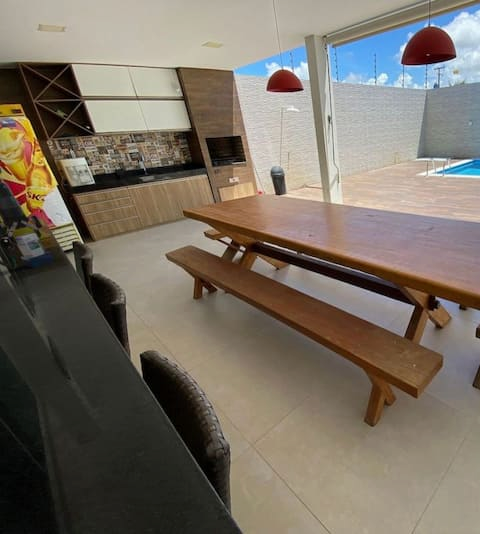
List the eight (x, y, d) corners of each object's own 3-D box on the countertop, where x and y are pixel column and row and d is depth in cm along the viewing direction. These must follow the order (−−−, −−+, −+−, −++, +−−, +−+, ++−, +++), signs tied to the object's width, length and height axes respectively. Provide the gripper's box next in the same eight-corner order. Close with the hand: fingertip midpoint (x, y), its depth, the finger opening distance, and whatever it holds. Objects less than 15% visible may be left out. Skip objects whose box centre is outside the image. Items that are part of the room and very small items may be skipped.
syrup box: (38, 265, 146) (22, 236, 139) (28, 265, 147) (12, 237, 140) (51, 260, 151) (36, 232, 144) (41, 260, 152) (26, 232, 145)
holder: (34, 268, 144) (28, 258, 142) (26, 266, 147) (20, 256, 145) (55, 261, 151) (50, 252, 148) (46, 259, 154) (41, 250, 151)
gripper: (24, 202, 144) (42, 234, 151) (-18, 210, 132) (3, 245, 139) (32, 203, 141) (50, 236, 148) (-11, 211, 129) (11, 247, 136)
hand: (27, 240), depth 144 cm, fingers open, 8 cm apart
